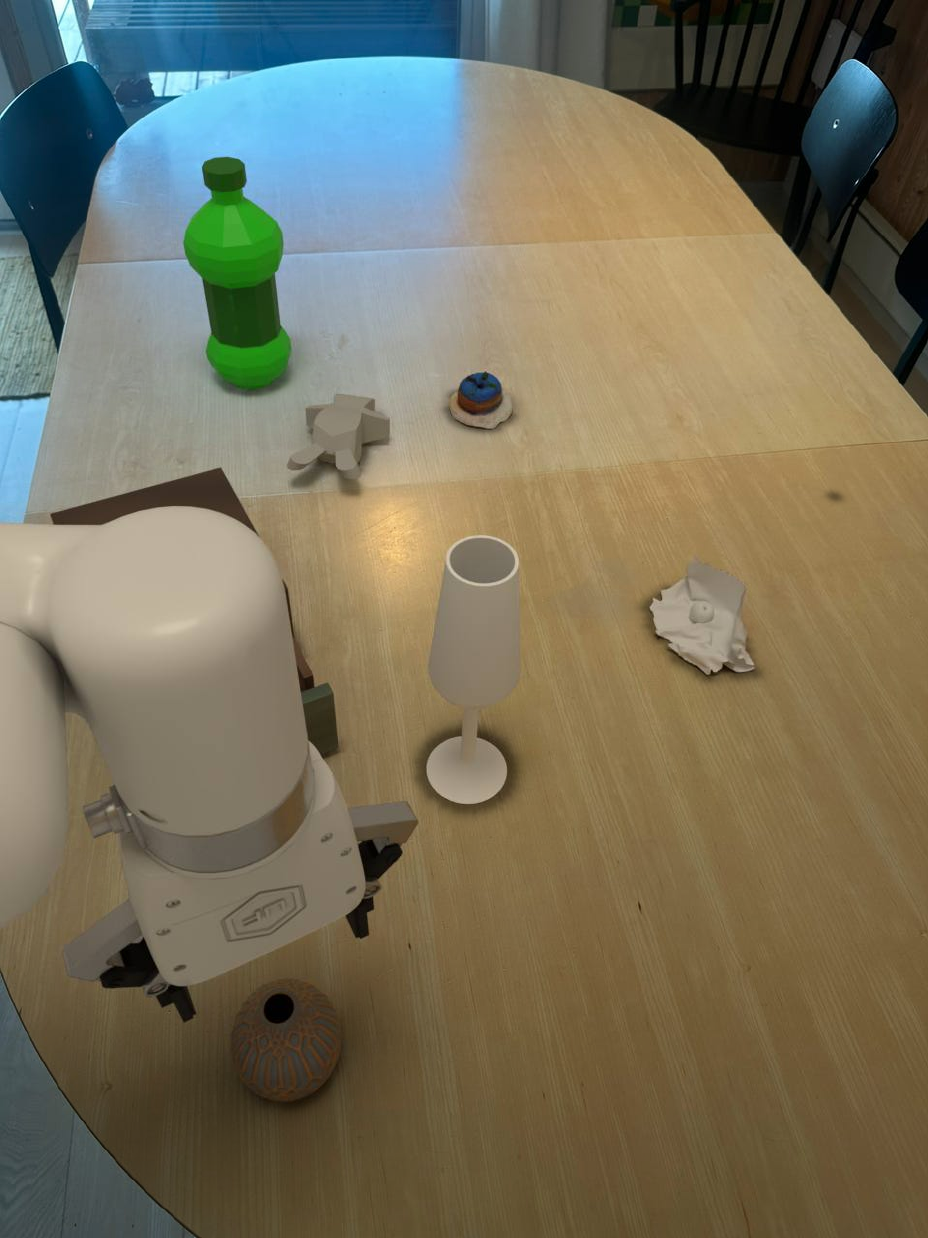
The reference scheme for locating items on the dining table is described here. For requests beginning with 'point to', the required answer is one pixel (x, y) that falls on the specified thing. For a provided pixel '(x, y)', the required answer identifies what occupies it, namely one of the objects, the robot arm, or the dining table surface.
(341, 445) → the bunny figurine
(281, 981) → the vase
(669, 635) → the fabric
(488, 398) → the dessert
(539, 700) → the dining table surface
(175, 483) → the cabinet
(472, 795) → the champagne flute
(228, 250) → the plastic bottle
